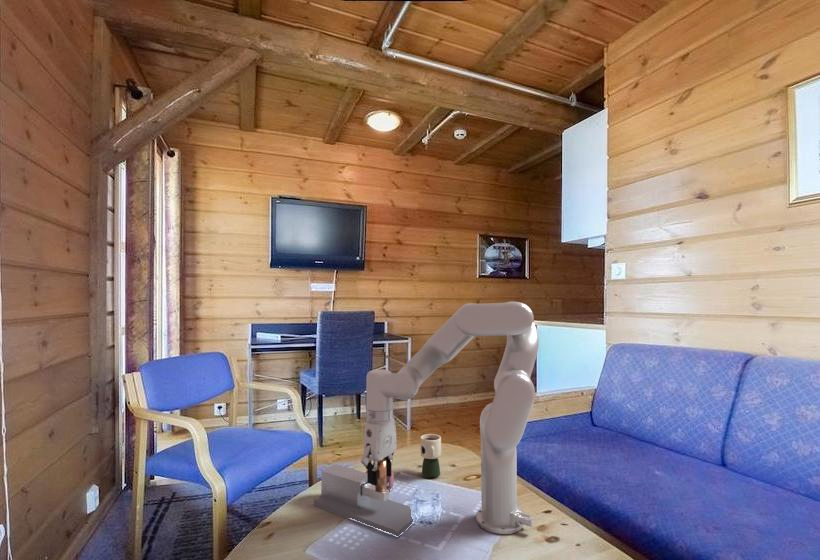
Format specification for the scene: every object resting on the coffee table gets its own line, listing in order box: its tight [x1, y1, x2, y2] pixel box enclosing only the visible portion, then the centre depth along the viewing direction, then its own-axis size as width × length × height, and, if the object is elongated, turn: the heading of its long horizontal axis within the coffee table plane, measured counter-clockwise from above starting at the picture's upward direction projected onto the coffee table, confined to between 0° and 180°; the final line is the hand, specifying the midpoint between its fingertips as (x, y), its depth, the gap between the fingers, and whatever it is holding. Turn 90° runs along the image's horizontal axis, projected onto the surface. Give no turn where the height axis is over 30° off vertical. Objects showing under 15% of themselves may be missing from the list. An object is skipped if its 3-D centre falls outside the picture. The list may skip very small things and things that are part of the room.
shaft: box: [361, 459, 390, 502], centre depth 118 cm, size 20×3×10 cm, turn 57°
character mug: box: [419, 433, 442, 479], centre depth 139 cm, size 11×7×13 cm, turn 4°
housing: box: [320, 463, 371, 509], centre depth 120 cm, size 14×6×7 cm, turn 57°
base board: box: [313, 496, 413, 536], centre depth 116 cm, size 30×12×2 cm, turn 57°
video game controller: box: [365, 470, 395, 490], centre depth 131 cm, size 10×5×7 cm, turn 85°
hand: (379, 479), depth 114 cm, fingers open, 5 cm apart
